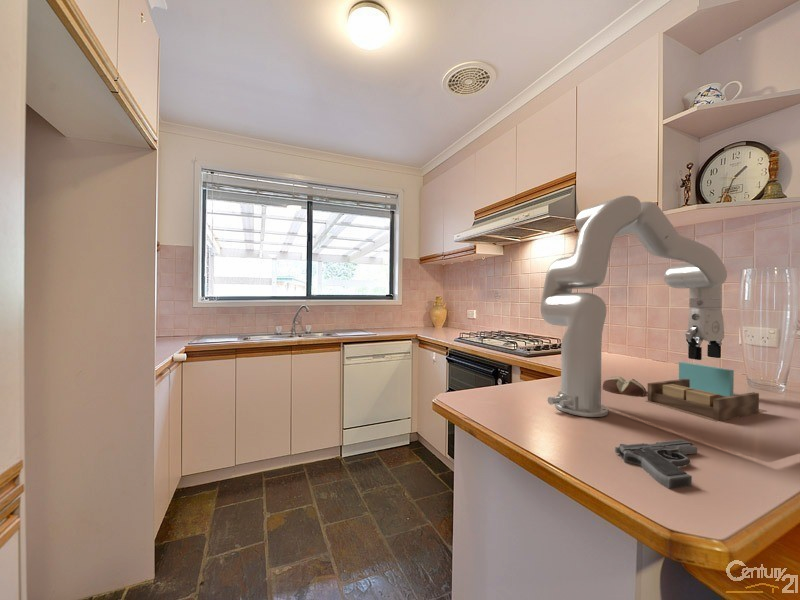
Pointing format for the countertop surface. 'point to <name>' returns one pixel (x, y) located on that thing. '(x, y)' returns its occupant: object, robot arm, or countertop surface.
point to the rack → (721, 406)
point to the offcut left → (675, 391)
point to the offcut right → (701, 397)
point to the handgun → (661, 460)
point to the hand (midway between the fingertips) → (704, 358)
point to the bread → (624, 386)
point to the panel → (708, 378)
